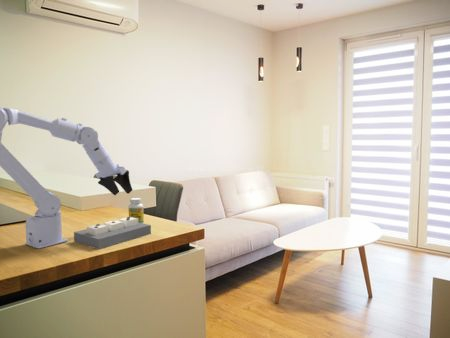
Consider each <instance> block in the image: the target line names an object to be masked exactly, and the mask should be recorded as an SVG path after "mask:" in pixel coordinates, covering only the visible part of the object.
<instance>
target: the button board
mask: <svg viewBox="0 0 450 338" xmlns="http://www.w3.org/2000/svg"><path fill="white" fill-rule="evenodd" d="M151 234H152V227H151V224H147V223H139V222H138V225H135V226H131V227H124V228H123V229H119V230H115V231H108V233H104V234H100V235H96V236H94V235H90V234H87V228H85V229H81V230H78V231H74V232H73V241H74V242H75V243H78V244H81V245H84V246H87V247H91V248H94V249H97V250H102V249H105V248H108V247H112V246H115V245H118V244H122V243H124V242H128V241H131V240H134V239H135V240H136V239H138V238H141V237H145V236H148V235H151Z"/></svg>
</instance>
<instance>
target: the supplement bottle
mask: <svg viewBox="0 0 450 338" xmlns="http://www.w3.org/2000/svg"><path fill="white" fill-rule="evenodd" d="M129 203H130V204H129V205H128V217H133V218H138V222H139V223H143V224H145V219H144V204H143V203H142V198H140V197H133V198H130V199H129Z"/></svg>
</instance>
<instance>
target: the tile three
mask: <svg viewBox="0 0 450 338" xmlns="http://www.w3.org/2000/svg"><path fill="white" fill-rule="evenodd" d="M118 221H121V222H123V226H124V227H131V226H135V225H138V218H133V217H129V216H126V217H123V218H119V219H118Z"/></svg>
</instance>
